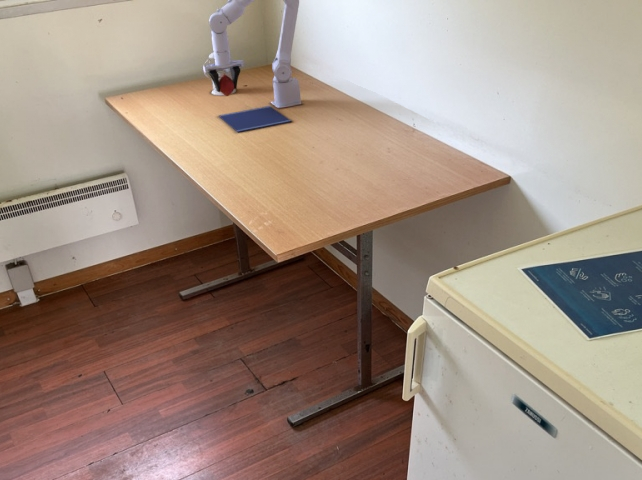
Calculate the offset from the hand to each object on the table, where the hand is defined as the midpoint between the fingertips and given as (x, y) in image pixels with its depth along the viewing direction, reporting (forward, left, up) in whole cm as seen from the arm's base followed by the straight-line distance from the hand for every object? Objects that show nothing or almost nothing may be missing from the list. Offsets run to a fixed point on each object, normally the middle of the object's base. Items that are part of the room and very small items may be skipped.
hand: (226, 89), depth 242 cm
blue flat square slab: (-4, +16, -7) cm, 18 cm away
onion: (0, 0, -2) cm, 2 cm away
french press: (-5, -23, -7) cm, 25 cm away
